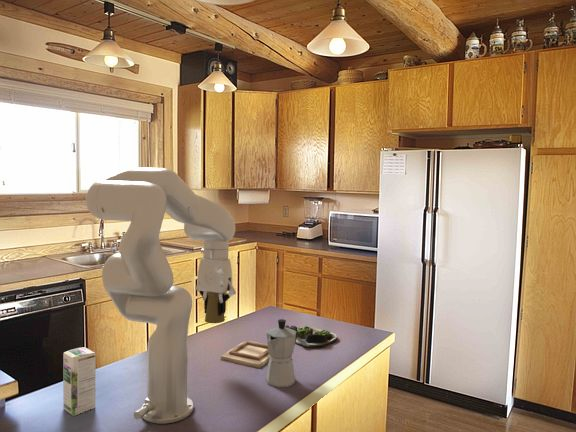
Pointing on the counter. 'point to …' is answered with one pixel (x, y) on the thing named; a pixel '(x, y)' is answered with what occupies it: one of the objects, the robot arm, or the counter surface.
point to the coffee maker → (281, 355)
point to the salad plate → (314, 337)
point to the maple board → (248, 354)
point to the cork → (213, 309)
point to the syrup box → (78, 380)
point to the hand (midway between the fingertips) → (214, 312)
